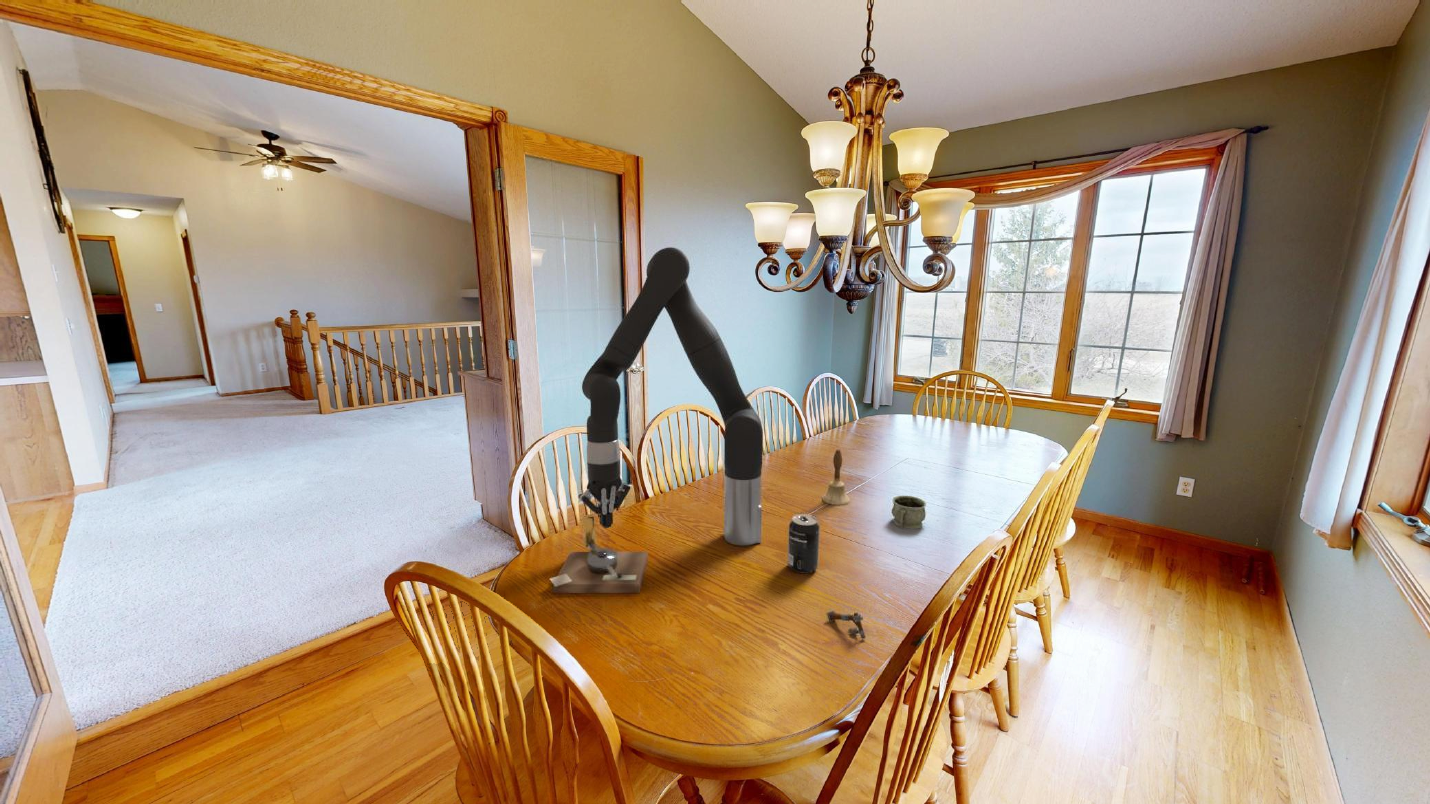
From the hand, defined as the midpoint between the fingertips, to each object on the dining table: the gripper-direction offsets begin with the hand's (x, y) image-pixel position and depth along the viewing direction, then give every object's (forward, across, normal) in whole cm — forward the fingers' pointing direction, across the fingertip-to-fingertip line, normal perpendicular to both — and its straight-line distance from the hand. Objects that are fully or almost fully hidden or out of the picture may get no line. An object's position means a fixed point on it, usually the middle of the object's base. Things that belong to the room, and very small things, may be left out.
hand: (606, 526), depth 125 cm
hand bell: (+7, -70, +13) cm, 71 cm away
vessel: (+7, -73, +36) cm, 81 cm away
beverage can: (+7, -32, +34) cm, 47 cm away
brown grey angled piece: (+7, -22, +54) cm, 59 cm away
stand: (+7, +6, +9) cm, 12 cm away
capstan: (+4, +5, +7) cm, 10 cm away
